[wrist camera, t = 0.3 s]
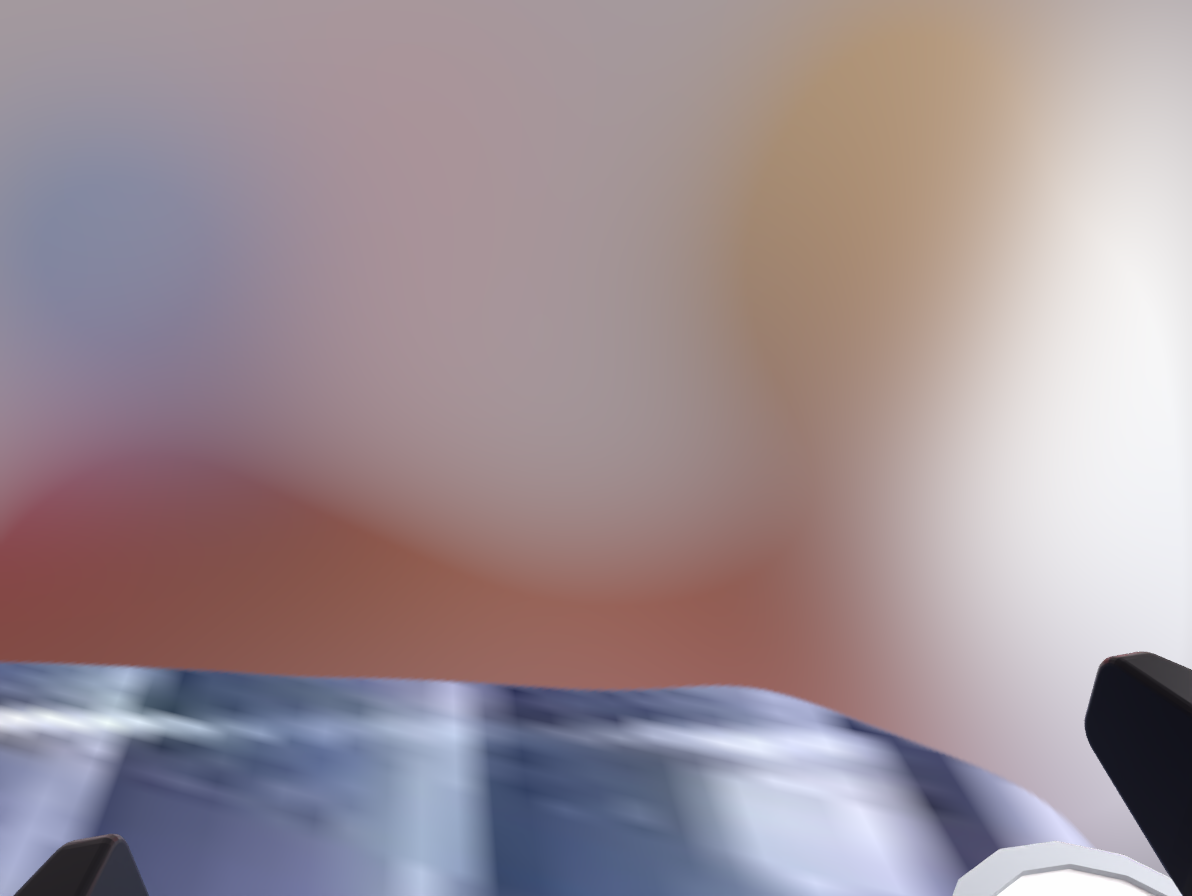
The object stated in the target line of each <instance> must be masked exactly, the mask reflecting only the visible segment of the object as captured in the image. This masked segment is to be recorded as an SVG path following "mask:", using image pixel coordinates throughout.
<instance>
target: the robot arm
mask: <svg viewBox="0 0 1192 896" xmlns="http://www.w3.org/2000/svg"><path fill="white" fill-rule="evenodd" d="M1085 731H1086V736H1087V738H1088V741H1089V744H1090V746H1091V748H1092V749H1093V751H1094V753H1095V754H1096V756H1097V757H1098V759H1099V761H1100V763H1101V764H1102V766H1103V768H1104V769H1105V771H1106V773H1107V774H1108V776H1109V777H1110V779H1111V780H1112V782H1113V784H1114V786H1115V787H1116V789H1117V791H1118V792H1119V794H1120V795H1121V797H1122V799H1123V801H1124V802H1125V804H1126V805H1127V807H1128V809H1129V810H1130V812H1131V814H1132V815H1133V817H1134V819H1135V820H1136V822H1137V824H1138V825H1139V827H1140V828H1141V830H1142V832H1143V833H1144V835H1145V837H1146V838H1147V840H1148V842H1149V843H1150V845H1151V847H1152V848H1153V850H1154V852H1155V853H1156V855H1157V857H1158V858H1159V860H1160V862H1161V863H1162V865H1163V866H1164V868H1165V870H1166V871H1167V873H1168V874H1169V876H1170V877H1171V879H1172V881H1173V882H1174V884H1175V885H1176V887H1177V888H1178V890H1179V891H1180V893H1181V894H1182V896H1192V670H1191V669H1189V668H1186V667H1184V666H1182V665H1179V664H1177V663H1174V662H1172V661H1170V660H1167V659H1165V658H1163V657H1160V656H1158V655H1156V654H1153V653H1149V652H1134V653H1129V654H1123V655H1117V656H1112V657H1109V658H1106V659H1105V660H1104V661H1103V662H1102V663H1101V664H1100V666H1099V668H1098V671H1097V675H1096V678H1095V682H1094V686H1093V690H1092V693H1091V697H1090V701H1089V704H1088V709H1087V712H1086V716H1085ZM14 896H149V895H148V892H147V890H146V887H145V885H144V882H143V880H142V878H141V875H140V873H139V870H138V868H137V866H136V863H135V861H134V858H133V856H132V854H131V851H130V849H129V846H128V844H127V843H126V841H125V839H124V838H122V837H121V836H120V835H118V834H108V835H102V836H97V837H91V838H85V839H80V840H74V841H71V842H69V843H66V844H65V845H63V846H62V847H60V848H59V849H58V850H57V851H56V852H55V853H54V854H53V855H52V856H51V857H50V858H49V859H48V860H47V861H46V862H45V863H44V864H43V865H42V866H41V867H40V868H39V869H38V871H37V872H36V873H35V874H34V875H33V876H32V877H31V878H30V879H29V880H28V881H27V882H26V883H25V884H24V885H23V886H22V887H21V888H20V889H19V890H18V891H17V892H16V894H15V895H14Z"/></svg>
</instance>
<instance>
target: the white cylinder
mask: <svg viewBox="0 0 1192 896" xmlns="http://www.w3.org/2000/svg"><path fill="white" fill-rule="evenodd" d="M953 896H1182V894H1181V893H1180V891H1179V890H1178V888H1177V887H1176V885H1175V884H1174V882H1173V881H1172V879H1171V878H1169V877H1167V876H1165V875H1163V874H1161V873H1159V872H1157V871H1155V870H1153V869H1151V868H1149V867H1147V866H1145V865H1143V864H1141V863H1139V862H1136V861H1135V860H1133V859H1131V858H1129V857H1127V856H1125V855H1122V854H1117V853H1112V852H1108V851H1103V850H1098V849H1093V848H1088V847H1083V846H1079V845H1074V844H1069V843H1064V842H1059V841H1052V842H1045V843H1038V844H1031V845H1024V846H1017V847H1011V848H1004V849H999V850H998V851H996V852H995V853H994V854H992V855H991V856H990V857H988V858H987V859H986V860H984V861H983V862H982V863H980V864H979V865H977V866H976V867H975V868H973V869H972V870H971V871H969V872H968V873H967V874H965V875H964V876H963V877H961V878H960V879H959V880H958V883H957V885H956V888H955V891H954V893H953Z"/></svg>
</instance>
